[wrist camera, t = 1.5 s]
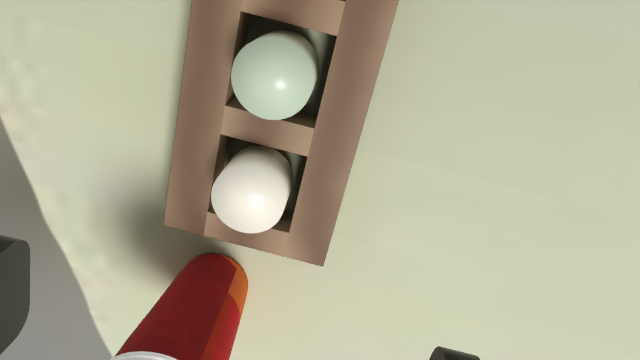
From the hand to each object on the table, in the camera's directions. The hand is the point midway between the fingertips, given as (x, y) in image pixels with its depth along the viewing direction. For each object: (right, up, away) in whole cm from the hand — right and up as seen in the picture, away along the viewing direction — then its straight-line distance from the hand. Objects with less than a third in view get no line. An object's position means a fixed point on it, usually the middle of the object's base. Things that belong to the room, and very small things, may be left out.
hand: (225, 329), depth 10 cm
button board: (0, +11, +24) cm, 27 cm away
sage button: (-1, +10, +23) cm, 25 cm away
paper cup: (-7, -6, +32) cm, 33 cm away
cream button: (-2, +3, +26) cm, 26 cm away
